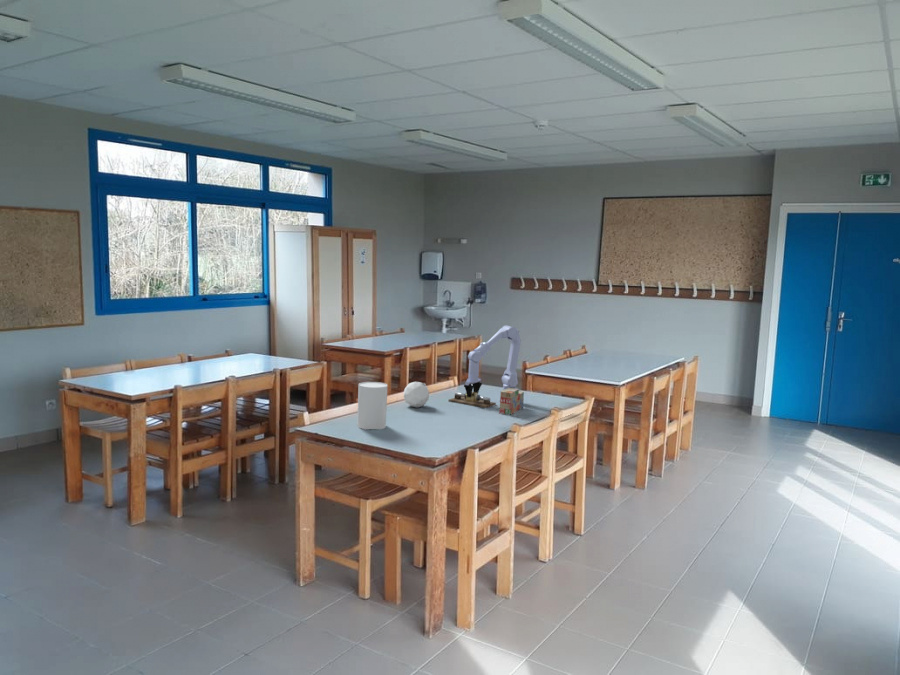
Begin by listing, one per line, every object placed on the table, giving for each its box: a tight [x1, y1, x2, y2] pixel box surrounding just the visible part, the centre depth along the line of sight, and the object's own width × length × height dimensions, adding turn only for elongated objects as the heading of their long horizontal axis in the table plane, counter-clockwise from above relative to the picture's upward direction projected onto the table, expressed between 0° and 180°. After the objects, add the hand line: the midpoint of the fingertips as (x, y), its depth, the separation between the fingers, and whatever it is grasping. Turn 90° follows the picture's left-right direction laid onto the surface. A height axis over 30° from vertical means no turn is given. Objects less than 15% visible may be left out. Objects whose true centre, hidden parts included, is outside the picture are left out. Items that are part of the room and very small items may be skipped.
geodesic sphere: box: [403, 381, 430, 408], centre depth 361 cm, size 15×14×14 cm
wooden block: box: [466, 391, 479, 402], centre depth 378 cm, size 5×4×5 cm
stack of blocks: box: [499, 388, 525, 415], centre depth 364 cm, size 21×6×12 cm, turn 155°
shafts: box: [454, 391, 491, 402], centre depth 378 cm, size 22×4×4 cm, turn 59°
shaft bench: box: [448, 394, 496, 409], centre depth 378 cm, size 24×12×3 cm, turn 59°
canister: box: [356, 381, 388, 430], centre depth 315 cm, size 14×14×20 cm
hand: (472, 396), depth 378 cm, fingers open, 7 cm apart
